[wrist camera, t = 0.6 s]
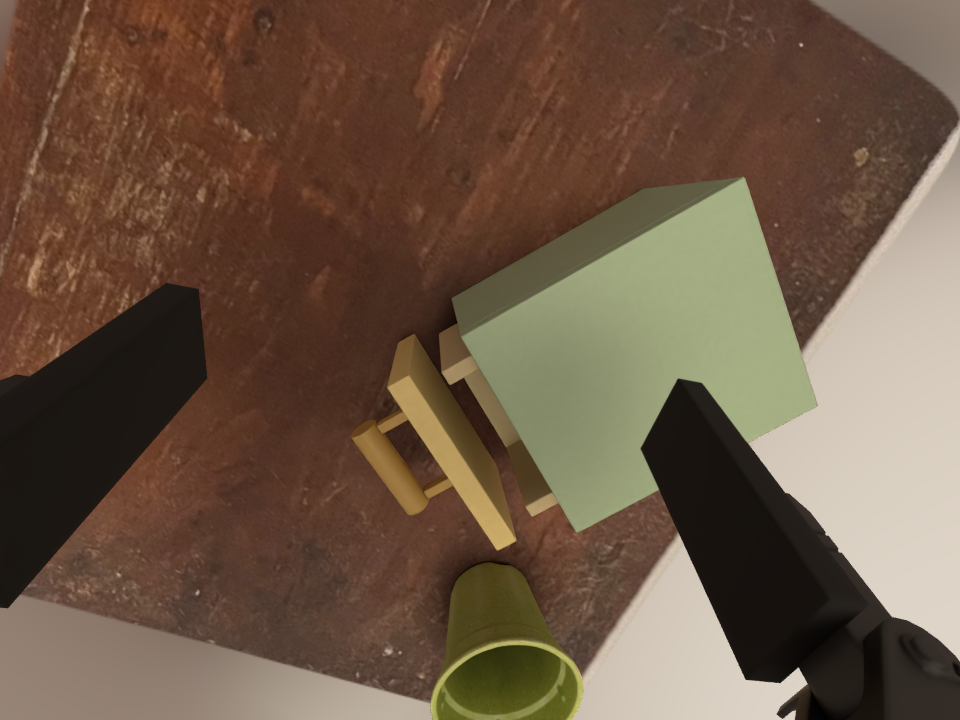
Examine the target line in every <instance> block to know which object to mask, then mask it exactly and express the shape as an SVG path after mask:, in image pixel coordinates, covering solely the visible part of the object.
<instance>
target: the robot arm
mask: <svg viewBox="0 0 960 720" xmlns="http://www.w3.org/2000/svg"><path fill="white" fill-rule="evenodd" d="M206 379H207V370H206V360H205V349H204V339H203V329H202V319H201V309H200V299H199V289H195V288H190V287H185V286H179V285H174V284H169V283H166V284H164V285H163V286H161V287H160V288H158V289H157V290H155V291H154V292H152V293H151V294H150V295H148V296H147V297H145V298H144V299H142V300H141V301H139V302H138V303H136V304H135V305H134V306H132V307H131V308H129V309H128V310H126V311H125V312H123V313H122V314H120V315H119V316H117V317H116V318H115V319H113V320H112V321H110V322H109V323H107V324H106V325H104V326H103V327H101V328H100V329H99V330H97V331H96V332H94V333H93V334H91V335H90V336H88V337H87V338H85V339H84V340H82V341H81V342H80V343H78V344H77V345H75V346H74V347H72V348H71V349H69V350H68V351H66V352H65V353H64V354H62V355H61V356H59V357H58V358H56V359H55V360H53V361H52V362H50V363H49V364H47V365H46V366H45V367H43V368H42V369H40V370H39V371H37V372H36V373H34V374H33V375H31V376H30V377H29V376H22V375H14V376H11V377H8V378H6V379H3V380H0V608H8V607H9V606H10V605H11V604H12V603H13V602H14V600H15V599H16V598H17V597H18V596H19V595H20V594H21V593H22V591H23V590H24V589H25V588H26V587H27V586H28V585H29V583H30V582H31V581H32V580H33V579H34V578H35V576H36V575H37V574H38V573H39V572H40V571H41V570H42V568H43V567H44V566H45V565H46V564H47V563H48V561H49V560H50V559H51V558H52V557H53V556H54V555H55V553H56V552H57V551H58V550H59V549H60V548H61V546H62V545H63V544H64V543H65V542H66V541H67V540H68V538H69V537H70V536H71V535H72V534H73V533H74V531H75V530H76V529H77V528H78V527H79V526H80V524H81V523H82V522H83V521H84V520H85V519H86V518H87V516H88V515H89V514H90V513H91V512H92V511H93V509H94V508H95V507H96V506H97V505H98V504H99V503H100V501H101V500H102V499H103V498H104V497H105V496H106V494H107V493H108V492H109V491H110V490H111V489H112V488H113V486H114V485H115V484H116V483H117V482H118V481H119V479H120V478H121V477H122V476H123V475H124V474H125V473H126V471H127V470H128V469H129V468H130V467H131V466H132V464H133V463H134V462H135V461H136V460H137V459H138V458H139V456H140V455H141V454H142V453H143V452H144V451H145V449H146V448H147V447H148V446H149V445H150V444H151V443H152V441H153V440H154V439H155V438H156V437H157V436H158V434H159V433H160V432H161V431H162V430H163V429H164V428H165V426H166V425H167V424H168V423H169V422H170V421H171V419H172V418H173V417H174V416H175V415H176V414H177V413H178V411H179V410H180V409H181V408H182V407H183V406H184V404H185V403H186V402H187V401H188V400H189V399H190V398H191V396H192V395H193V394H194V393H195V392H196V391H197V389H198V388H199V387H200V386H201V385H202V384H203V383H204V381H205V380H206ZM640 449H641V451H642V453H643V456H644V458H645V460H646V462H647V464H648V467H649V469H650V471H651V473H652V475H653V478H654V480H655V482H656V484H657V486H658V488H659V491H660V493H661V495H662V497H663V499H664V502H665V504H666V506H667V508H668V510H669V513H670V515H671V517H672V519H673V521H674V524H675V526H676V528H677V530H678V532H679V535H680V537H681V539H682V541H683V543H684V546H685V548H686V550H687V552H688V554H689V557H690V559H691V561H692V563H693V565H694V567H695V570H696V572H697V574H698V576H699V578H700V581H701V583H702V585H703V587H704V589H705V592H706V594H707V596H708V598H709V600H710V603H711V605H712V607H713V609H714V611H715V614H716V616H717V618H718V620H719V622H720V624H721V627H722V629H723V631H724V633H725V636H726V638H727V640H728V642H729V644H730V647H731V649H732V651H733V653H734V655H735V657H736V660H737V662H738V664H739V666H740V668H741V671H742V673H743V675H744V677H745V679H746V680H755V681H765V682H775V683H781V682H782V681H783V680H784V679H786V678H787V677H788V676H789V675H790V674H791V673H792V672H794V671H795V670H796V669H797V668H798V667H799V669H800V671H801V672H802V674H803V676H804V678H805V680H806V681H807V683H808V684H807V685H806V686H805V687H803V688H802V689H801V690H800V691H799V692H797V694H795V695H794V696H793V697H792V698H790V699H789V700H788V701H787V702H786V703H784V704H783V705H782V706H781V707H780V709H779V711H778V713H777V715H778V716H779V717H781V718H782V719H783V718H784V717H785V716H787V715H788V714H789V713H790V712H792V711H795V710H796V716H795V720H960V661H959V660H958V659H957V657H956V656H955V655H954V654H953V653H952V652H951V651H950V650H949V649H948V648H947V647H945V646H944V645H943V644H942V643H941V642H940V641H939V640H938V639H937V638H935V637H934V636H932V635H931V634H930V633H928V632H927V631H925V630H924V629H923V628H921V627H919V626H917V625H914V624H913V623H911V622H909V621H907V620H902V619H898V618H894V617H893V618H892V617H891V616H890V614H889V613H888V612H887V610H886V609H885V608H884V607H883V605H882V604H881V603H880V601H879V600H878V599H877V597H876V596H875V595H874V594H873V592H872V591H871V590H870V588H869V587H868V586H867V585H866V583H865V582H864V581H863V579H862V578H861V577H860V576H859V574H858V573H857V572H856V570H855V569H854V568H853V567H852V565H851V564H850V563H849V562H848V560H847V559H846V558H845V556H844V555H843V554H842V553H839V552H838V548H837V546H836V545H835V543H834V542H833V541H832V540H831V538H830V537H829V536H826V535H825V531H824V529H823V528H822V527H821V525H820V524H819V523H818V522H817V520H816V519H815V518H814V517H813V515H812V514H811V513H810V512H809V511H808V510H807V509H806V508H805V507H803V505H801V504H800V503H799V502H798V501H797V500H796V499H795V498H793V497H792V496H791V495H790V494H788V493H785V492H784V491H783V489H782V488H781V487H780V485H779V484H778V483H777V481H776V480H775V479H774V477H773V476H772V475H771V474H770V472H769V471H768V470H767V468H766V467H765V466H764V464H763V463H762V462H761V460H760V459H759V458H758V456H757V455H756V454H755V452H754V451H753V450H752V448H751V447H750V446H749V444H748V443H747V442H746V440H745V439H744V438H743V436H742V435H741V434H740V432H739V431H738V430H737V428H736V427H735V426H734V424H733V423H732V422H731V420H730V419H729V418H728V416H727V415H726V414H725V412H724V411H723V410H722V408H721V407H720V406H719V404H718V403H717V402H716V400H715V399H714V398H713V397H712V395H711V394H710V393H709V391H708V390H707V389H706V387H705V386H704V385H703V383H701V382H695V381H690V380H685V379H679V378H678V379H677V381H676V383H675V385H674V386H673V388H672V390H671V392H670V394H669V396H668V398H667V400H666V401H665V403H664V405H663V407H662V409H661V411H660V413H659V415H658V416H657V418H656V420H655V422H654V424H653V426H652V428H651V430H650V431H649V433H648V435H647V437H646V439H645V441H644V443H643V445H642V446H641V448H640Z"/></svg>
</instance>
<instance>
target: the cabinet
mask: <svg viewBox="0 0 960 720" xmlns="http://www.w3.org/2000/svg"><path fill="white" fill-rule="evenodd" d="M452 303H453V307H454V311H455V315H456V319H457V323H458V327H459V330H460V335H461V338H462V340H463V342H464V343H465V345H466V347H467V348H468V350H469V352H470V353H471V355H472V357H473V359H474V360H475V362H476V364H477V365H478V367H479V369H480V370H481V372H482V374H483V376H484V377H485V379H486V381H487V382H488V384H489V386H490V387H491V389H492V391H493V392H494V394H495V396H496V398H497V399H498V401H499V403H500V404H501V406H502V408H503V409H504V411H505V413H506V414H507V416H508V418H509V420H510V421H511V423H512V425H513V426H514V428H515V430H516V431H517V433H518V435H519V437H520V438H521V440H522V442H523V443H524V445H525V447H526V448H527V450H528V452H529V453H530V455H531V457H532V459H533V460H534V462H535V464H536V465H537V467H538V469H539V470H540V472H541V474H542V476H543V477H544V479H545V481H546V482H547V484H548V486H549V487H550V489H551V491H552V492H553V494H554V496H555V498H556V499H557V501H558V503H559V504H560V506H561V508H562V509H563V511H564V513H565V514H566V516H567V518H568V520H569V521H570V523H571V525H572V526H573V528H574V530H575V531H576V532H577V533H578V532H580V531H582V530H584V529H585V528H587V527H589V526H591V525H593V524H595V523H597V522H599V521H601V520H603V519H604V518H606V517H608V516H610V515H612V514H614V513H616V512H618V511H620V510H622V509H623V508H625V507H627V506H629V505H631V504H633V503H635V502H637V501H639V500H641V499H642V498H644V497H646V496H648V495H650V494H652V493H654V492H656V491H658V490H659V488H658V486H657V484H656V482H655V480H654V478H653V475H652V473H651V471H650V469H649V467H648V464H647V462H646V460H645V458H644V456H643V453H642V451H641V449H640V448H641V446H642V445H643V443H644V441H645V439H646V437H647V435H648V433H649V431H650V430H651V428H652V426H653V424H654V422H655V420H656V418H657V416H658V415H659V413H660V411H661V409H662V407H663V405H664V403H665V401H666V400H667V398H668V396H669V394H670V392H671V390H672V388H673V386H674V385H675V383H676V381H677V379H678V378H679V379H685V380H690V381H695V382H701V383H703V385H704V386H705V387H706V389H707V390H708V391H709V393H710V394H711V395H712V397H713V398H714V399H715V400H716V402H717V403H718V404H719V406H720V407H721V408H722V410H723V411H724V412H725V414H726V415H727V416H728V418H729V419H730V420H731V422H732V423H733V424H734V426H735V427H736V428H737V430H738V431H739V432H740V434H741V435H742V436H743V438H744V439H745V440H746V442H747V443H749V442H751V441H753V440H754V439H756V438H758V437H760V436H762V435H764V434H766V433H768V432H770V431H771V430H773V429H775V428H777V427H779V426H781V425H783V424H785V423H787V422H789V421H791V420H792V419H794V418H796V417H798V416H800V415H802V414H804V413H806V412H808V411H809V410H811V409H813V408H815V407H817V406H818V404H817V401H816V398H815V395H814V392H813V389H812V385H811V382H810V379H809V376H808V373H807V370H806V367H805V364H804V360H803V357H802V354H801V351H800V348H799V345H798V342H797V339H796V336H795V332H794V329H793V326H792V323H791V320H790V317H789V314H788V311H787V308H786V304H785V301H784V298H783V295H782V292H781V289H780V286H779V283H778V279H777V276H776V273H775V270H774V267H773V264H772V261H771V258H770V255H769V251H768V248H767V245H766V242H765V239H764V236H763V233H762V230H761V227H760V223H759V220H758V217H757V214H756V211H755V208H754V205H753V202H752V199H751V195H750V192H749V189H748V186H747V183H746V180H745V178H744V177H740V178H732V179H724V180H716V181H707V182H698V183H689V184H681V185H672V186H663V187H655V188H646V189H642V190H640V191H639V192H637V193H635V194H633V195H632V196H630V197H628V198H626V199H625V200H623V201H621V202H619V203H618V204H616V205H614V206H612V207H611V208H609V209H607V210H605V211H604V212H602V213H600V214H598V215H597V216H595V217H593V218H591V219H590V220H588V221H586V222H584V223H583V224H581V225H579V226H577V227H576V228H574V229H572V230H570V231H569V232H567V233H565V234H563V235H561V236H560V237H558V238H556V239H554V240H553V241H551V242H549V243H547V244H546V245H544V246H542V247H540V248H539V249H537V250H535V251H533V252H532V253H530V254H528V255H526V256H525V257H523V258H521V259H519V260H518V261H516V262H514V263H512V264H511V265H509V266H507V267H505V268H504V269H502V270H500V271H498V272H497V273H495V274H493V275H491V276H490V277H488V278H486V279H484V280H483V281H481V282H479V283H477V284H476V285H474V286H472V287H470V288H469V289H467V290H465V291H463V292H462V293H460V294H458V295H456V296H455V297H453V298H452Z"/></svg>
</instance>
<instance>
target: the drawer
mask: <svg viewBox="0 0 960 720" xmlns="http://www.w3.org/2000/svg"><path fill="white" fill-rule="evenodd" d="M439 344H440V357H441V370H442V374H443V376H444V377H445V379H446V380H447V382H448V384H449V385H451V384H453V383H455V382H457V381H459V380H460V379H462V378H464V379H465V381H466V383H467V384H468V386H469V388H470V389H471V391H472V393H473V394H474V396H475V397H476V399H477V401H478V402H479V404H480V406H481V407H482V409H483V411H484V412H485V414H486V416H487V417H488V419H489V420H490V422H491V424H492V425H493V427H494V429H495V430H496V432H497V434H498V435H499V437H500V439H501V440H502V442H503V444H504V445H505V447H506V448H507V452H508V455H509V458H510V461H511V464H512V467H513V470H514V473H515V476H516V479H517V482H518V485H519V488H520V491H521V495H522V498H523V501H524V504H525V507H526V509H527V510H528V512H529V513H530V515H531V516H535V515H537V514H538V513H540V512H542V511H544V510H546V509H548V508H550V507H552V506H554V505H555V504H557V503H558V501H557V499H556V498H555V496H554V494H553V492H552V491H551V489H550V487H549V486H548V484H547V482H546V481H545V479H544V477H543V476H542V474H541V472H540V470H539V469H538V467H537V465H536V464H535V462H534V460H533V459H532V457H531V455H530V453H529V452H528V450H527V448H526V447H525V445H524V443H523V442H522V440H521V438H520V437H519V435H518V433H517V431H516V430H515V428H514V426H513V425H512V423H511V421H510V420H509V418H508V416H507V414H506V413H505V411H504V409H503V408H502V406H501V404H500V403H499V401H498V399H497V398H496V396H495V394H494V392H493V391H492V389H491V387H490V386H489V384H488V382H487V381H486V379H485V377H484V376H483V374H482V372H481V370H480V369H479V367H478V365H477V364H476V362H475V360H474V359H473V357H472V355H471V353H470V352H469V350H468V348H467V347H466V345H465V343H464V342H463V340H462V338H461V335H460V330H459V327H458V323H457V324H455V325H453V326H451V327H450V328H448V329H446V330H444V331H443V332H441V333H439ZM387 388H388V390H389V391H390V393H391V394H392V396H393V397H394V399H395V400H396V402H397V403H398V405H399V406H400V408H401V409H400V410H398V411H397V412H395V413H393V414H391V415H389V416H388V417H386V418H384V419H382V420H380V421H379V422H378V424H377V422H376V421H375V420H369V421H366V422H365V423H363V424H361V425H360V426H359V427H357V428H356V429H355V430H354V431H353V433H352V434H351V438H352V439H353V441H354V442H355V444H356V445H357V446H358V448H359V449H360V450H361V452H362V453H363V454H364V456H365V457H366V458H367V460H368V461H369V463H370V464H371V465H372V467H373V468H374V469H375V471H376V472H377V473H378V475H379V476H380V477H381V479H382V480H383V481H384V483H385V484H386V486H387V487H388V488H389V490H390V491H391V492H392V494H393V495H394V496H395V498H396V499H397V500H398V502H399V503H400V505H401V506H402V507H403V509H404V510H405V511H406V513H407V514H409V515H415V514H417V513H419V512H421V511H422V510H423V509H424V508H425V507H426V506H427V505H428V503H429V498H431V497H433V496H435V495H437V494H439V493H440V492H442V491H444V490H446V489H448V488H450V487H451V486H454V487H455V489H456V490H457V492H458V493H459V495H460V496H461V498H462V499H463V501H464V502H465V504H466V505H467V507H468V508H469V510H470V511H471V513H472V514H473V516H474V517H475V518H476V520H477V521H478V523H479V524H480V526H481V527H482V529H483V530H484V532H485V533H486V535H487V536H488V538H489V539H490V541H491V542H492V544H493V545H494V547H495V548H496V550H497V551H498V550H500V549H502V548H504V547H506V546H508V545H510V544H511V543H513V542H515V541H516V536H515V532H514V528H513V525H512V521H511V517H510V513H509V510H508V506H507V502H506V498H505V495H504V491H503V487H502V483H501V480H500V476H499V472H498V468H497V465H496V463H495V462H494V460H493V459H492V457H491V455H490V454H489V452H488V451H487V449H486V447H485V446H484V444H483V443H482V441H481V439H480V438H479V436H478V435H477V433H476V431H475V430H474V428H473V427H472V425H471V423H470V422H469V420H468V419H467V417H466V415H465V414H464V412H463V411H462V409H461V407H460V406H459V404H458V403H457V401H456V399H455V398H454V396H453V395H452V393H451V391H450V390H449V388H448V387H447V385H446V383H445V382H444V380H443V379H442V377H441V375H440V374H439V372H438V371H437V369H436V367H435V366H434V364H433V363H432V361H431V359H430V358H429V356H428V355H427V353H426V351H425V350H424V348H423V347H422V345H421V343H420V342H419V340H418V339H417V337H416V336H415V334H413V335H411V336H409V337H407V338H406V339H404V340H402V341H400V342H399V343H398V345H397V349H396V353H395V357H394V361H393V365H392V369H391V374H390V378H389V382H388V386H387ZM407 420H409V421H410V422H411V424H412V425H413V427H414V428H415V430H416V431H417V433H418V434H419V436H420V437H421V439H422V440H423V442H424V443H425V445H426V446H427V448H428V449H429V451H430V452H431V453H432V455H433V456H434V458H435V459H436V461H437V462H438V464H439V465H440V467H441V468H442V470H443V471H444V473H445V474H446V475H444V476H443V477H441V478H439V479H437V480H435V481H433V482H432V483H430V484H428V485H426V486H424V489H423V487H422V486H421V484H420V483H419V482H418V480H417V479H416V477H415V476H414V475H413V473H412V472H411V470H410V469H409V467H408V466H407V465H406V463H405V462H404V460H403V459H402V458H401V456H400V455H399V453H398V452H397V450H396V449H395V448H394V446H393V445H392V443H391V442H390V441H389V439H388V438H387V436H386V435H385V432H387V431H389V430H391V429H393V428H394V427H396V426H398V425H400V424H402V423H403V422H405V421H407Z"/></svg>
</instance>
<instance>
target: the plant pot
mask: <svg viewBox="0 0 960 720" xmlns="http://www.w3.org/2000/svg"><path fill="white" fill-rule="evenodd" d="M582 696H583V681H582V677H581V674H580V672H579V670H578V667H577V665H576V664H575V662H574V661H573V660H572V658H571V657H570V656H569V655H568V654H566V653H565V652H564V651H563V650H562V648H561V647H560V645H559V644H558V643H557V642H556V640H555V639H554V638H553V636H552V634H551V632H550V630H549V628H548V626H547V624H546V622H545V620H544V618H543V616H542V613H541V611H540V609H539V607H538V605H537V603H536V600H535V598H534V596H533V594H532V591H531V589H530V587H529V585H528V583H527V581H526V579H525V577H524V576H523V574H522V573H521V572H520V571H519V570H517V569H516V568H514V567H513V566H511V565H499V564H495V563H491V562H488V563H483V564H479V565H476V566H474V567H472V568H470V569H468V570H467V571H466V572H464V573H463V574H462V575H461V576H460V577H459V578H458V579H457V581H456V582H455V585H454V588H453V591H452V593H451V599H450V610H449V621H448V631H447V641H446V650H445V659H444V663H443V665H442V668H441V671H440V676H439V678H438V679H437V681H436V683H435V686H434V688H433V691H432V695H431V705H430V711H431V716H432V720H572V719H573V717H574V716H575V714H576V712H577V711H578V709H579V706H580V704H581V700H582Z"/></svg>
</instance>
